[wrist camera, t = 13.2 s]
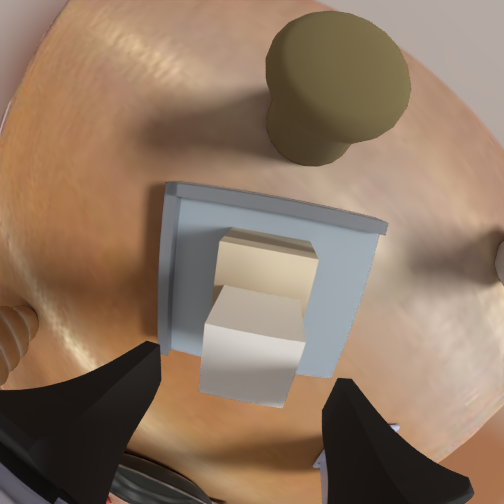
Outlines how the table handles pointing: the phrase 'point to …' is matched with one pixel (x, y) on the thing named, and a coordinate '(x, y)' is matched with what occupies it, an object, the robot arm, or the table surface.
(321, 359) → the dock
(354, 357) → the table surface
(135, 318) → the table surface
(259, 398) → the white cube
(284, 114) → the pepper shaker
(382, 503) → the robot arm
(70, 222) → the table surface
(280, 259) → the block
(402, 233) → the table surface
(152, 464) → the frying pan
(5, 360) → the cat ice cream
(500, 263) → the salt shaker
